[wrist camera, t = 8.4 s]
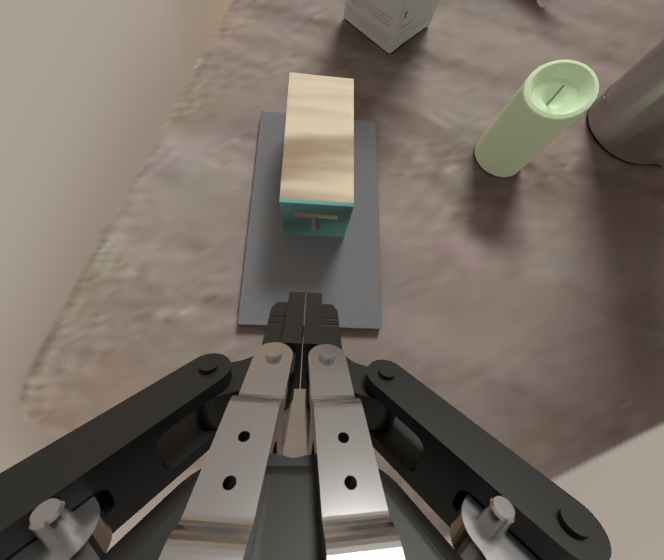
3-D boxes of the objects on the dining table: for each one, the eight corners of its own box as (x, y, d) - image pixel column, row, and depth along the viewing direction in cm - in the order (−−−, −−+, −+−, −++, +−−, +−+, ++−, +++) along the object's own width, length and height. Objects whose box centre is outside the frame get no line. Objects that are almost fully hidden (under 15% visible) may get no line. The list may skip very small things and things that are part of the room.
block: (353, 206, 19) (353, 78, 23) (279, 201, 19) (289, 72, 22) (344, 237, 24) (345, 128, 27) (284, 233, 24) (292, 123, 27)
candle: (492, 185, 28) (566, 115, 20) (463, 145, 29) (523, 64, 21) (530, 167, 29) (615, 94, 21) (501, 129, 30) (572, 46, 22)
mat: (379, 329, 23) (381, 328, 22) (239, 324, 22) (237, 324, 22) (374, 126, 28) (376, 121, 28) (262, 116, 28) (261, 111, 27)
